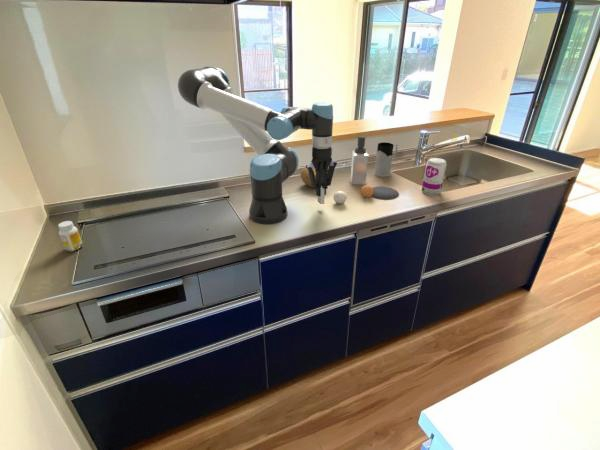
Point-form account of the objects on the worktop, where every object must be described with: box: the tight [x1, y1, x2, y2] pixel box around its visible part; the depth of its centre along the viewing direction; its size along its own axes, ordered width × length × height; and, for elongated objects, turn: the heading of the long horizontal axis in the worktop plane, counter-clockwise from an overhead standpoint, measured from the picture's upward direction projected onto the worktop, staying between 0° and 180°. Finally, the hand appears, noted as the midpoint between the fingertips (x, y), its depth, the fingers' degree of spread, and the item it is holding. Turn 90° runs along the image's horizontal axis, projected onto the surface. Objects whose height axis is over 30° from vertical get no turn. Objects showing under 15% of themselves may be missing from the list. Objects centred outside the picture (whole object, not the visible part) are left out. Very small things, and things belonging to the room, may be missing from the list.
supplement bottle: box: [57, 220, 83, 251], centre depth 115 cm, size 5×5×10 cm
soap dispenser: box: [350, 135, 369, 186], centre depth 162 cm, size 6×9×22 cm
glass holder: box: [373, 142, 398, 178], centre depth 174 cm, size 9×14×15 cm, turn 130°
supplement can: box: [421, 157, 447, 196], centre depth 152 cm, size 8×8×15 cm
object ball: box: [360, 184, 374, 198], centre depth 150 cm, size 6×6×6 cm
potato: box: [300, 167, 316, 188], centre depth 160 cm, size 10×14×8 cm
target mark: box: [370, 185, 400, 201], centre depth 155 cm, size 14×14×1 cm
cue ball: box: [333, 190, 348, 205], centre depth 145 cm, size 6×6×6 cm
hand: (320, 202), depth 141 cm, fingers closed
